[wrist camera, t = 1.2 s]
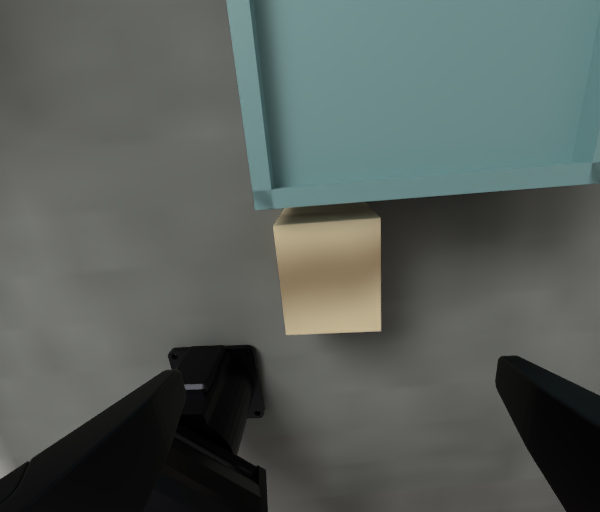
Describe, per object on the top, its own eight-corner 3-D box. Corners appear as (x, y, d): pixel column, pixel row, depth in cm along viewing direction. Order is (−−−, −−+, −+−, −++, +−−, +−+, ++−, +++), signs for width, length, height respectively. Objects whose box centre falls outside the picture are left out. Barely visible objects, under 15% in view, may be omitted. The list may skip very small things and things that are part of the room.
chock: (367, 290, 20) (381, 331, 16) (293, 293, 21) (286, 335, 16) (365, 201, 19) (380, 218, 14) (284, 207, 19) (273, 225, 14)
